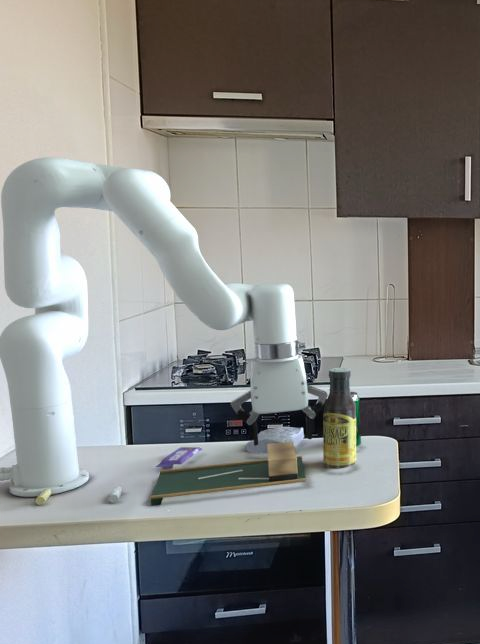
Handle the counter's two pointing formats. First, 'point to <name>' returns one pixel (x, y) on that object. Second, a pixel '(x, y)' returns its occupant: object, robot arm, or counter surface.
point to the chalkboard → (217, 478)
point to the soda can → (357, 417)
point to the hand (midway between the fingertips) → (283, 440)
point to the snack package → (178, 456)
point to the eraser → (282, 461)
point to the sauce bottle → (339, 422)
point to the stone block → (275, 438)
